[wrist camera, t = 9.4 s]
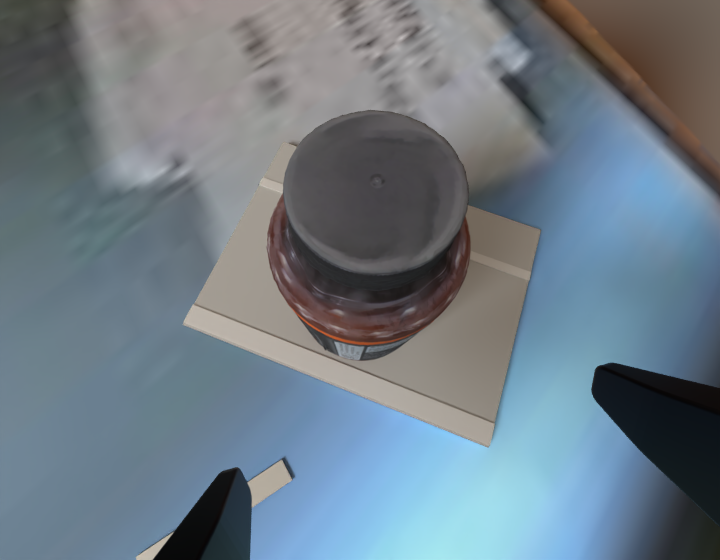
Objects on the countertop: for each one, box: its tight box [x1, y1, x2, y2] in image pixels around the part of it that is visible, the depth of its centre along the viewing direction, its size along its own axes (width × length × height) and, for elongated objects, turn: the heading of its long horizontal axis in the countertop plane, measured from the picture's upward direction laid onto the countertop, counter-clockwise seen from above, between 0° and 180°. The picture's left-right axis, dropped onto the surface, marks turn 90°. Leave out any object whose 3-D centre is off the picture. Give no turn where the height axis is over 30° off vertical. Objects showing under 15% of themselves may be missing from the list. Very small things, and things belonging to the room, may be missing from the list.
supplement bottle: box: [266, 110, 471, 361], centre depth 13 cm, size 6×6×11 cm
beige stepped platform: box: [183, 142, 541, 448], centre depth 19 cm, size 16×12×1 cm
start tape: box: [136, 460, 292, 560], centre depth 15 cm, size 1×7×1 cm, turn 122°
